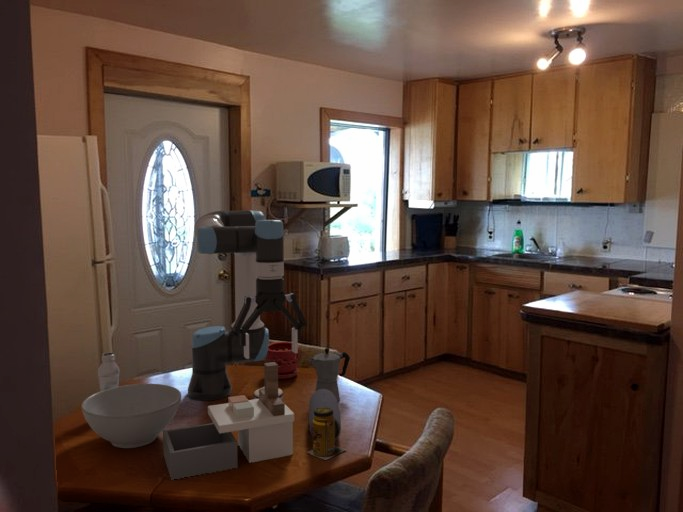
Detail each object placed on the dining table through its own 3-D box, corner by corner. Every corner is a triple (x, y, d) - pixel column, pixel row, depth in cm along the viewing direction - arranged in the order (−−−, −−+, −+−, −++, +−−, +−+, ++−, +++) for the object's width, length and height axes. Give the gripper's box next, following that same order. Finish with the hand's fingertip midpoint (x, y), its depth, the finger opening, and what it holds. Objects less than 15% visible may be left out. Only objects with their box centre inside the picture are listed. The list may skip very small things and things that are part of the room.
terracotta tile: (228, 406, 158) (228, 397, 158) (244, 403, 160) (244, 394, 160) (232, 411, 154) (232, 402, 154) (248, 409, 156) (248, 400, 156)
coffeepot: (315, 406, 190) (315, 354, 189) (304, 398, 199) (303, 347, 197) (355, 399, 198) (356, 348, 196) (342, 390, 206) (343, 342, 204)
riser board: (208, 447, 159) (207, 406, 158) (277, 435, 167) (277, 395, 166) (220, 471, 146) (219, 425, 144) (294, 456, 154) (294, 413, 152)
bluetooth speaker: (308, 418, 181) (308, 387, 180) (337, 417, 181) (337, 386, 180) (308, 449, 158) (308, 414, 157) (342, 448, 159) (342, 413, 158)
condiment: (306, 452, 156) (305, 410, 155) (327, 443, 162) (327, 402, 161) (325, 461, 151) (325, 417, 150) (346, 450, 158) (346, 408, 156)
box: (163, 455, 154) (163, 430, 154) (224, 445, 161) (224, 421, 160) (171, 480, 141) (170, 453, 140) (237, 468, 147) (237, 441, 147)
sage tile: (233, 412, 153) (232, 403, 153) (249, 410, 155) (249, 401, 155) (237, 418, 149) (236, 409, 149) (253, 416, 151) (253, 406, 151)
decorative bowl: (140, 415, 183) (139, 378, 182) (201, 432, 170) (200, 393, 168) (62, 446, 160) (60, 404, 159) (126, 469, 147) (124, 423, 145)
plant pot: (269, 370, 231) (269, 341, 230) (302, 371, 229) (301, 341, 228) (262, 380, 218) (261, 349, 217) (296, 381, 216) (296, 350, 215)
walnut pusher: (259, 399, 163) (258, 358, 162) (269, 397, 165) (268, 357, 163) (273, 416, 151) (273, 371, 149) (284, 414, 152) (284, 370, 151)
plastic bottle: (126, 413, 184) (123, 352, 182) (109, 420, 178) (107, 358, 176) (111, 410, 187) (109, 350, 185) (94, 417, 181) (92, 355, 179)
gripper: (227, 281, 145) (228, 363, 147) (318, 276, 155) (318, 353, 157) (220, 278, 152) (222, 356, 154) (308, 273, 162) (309, 346, 164)
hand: (271, 354), depth 156 cm, fingers open, 13 cm apart
